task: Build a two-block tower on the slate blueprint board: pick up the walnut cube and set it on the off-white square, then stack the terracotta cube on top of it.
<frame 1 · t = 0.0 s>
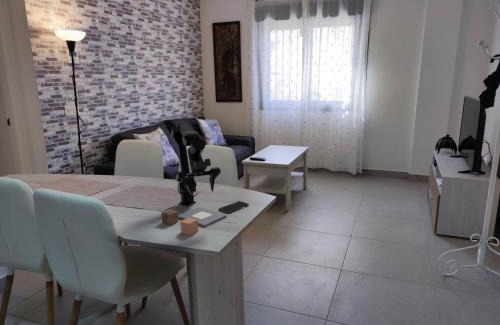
hand: (202, 193, 150), 15 cm above the table, tool tilted 35°, fingers open, 9 cm apart
terracotta cube: (189, 231, 148), on the table
blueprint board: (202, 217, 162), on the table
phone: (234, 209, 174), on the table
walnut cube: (170, 222, 158), on the table
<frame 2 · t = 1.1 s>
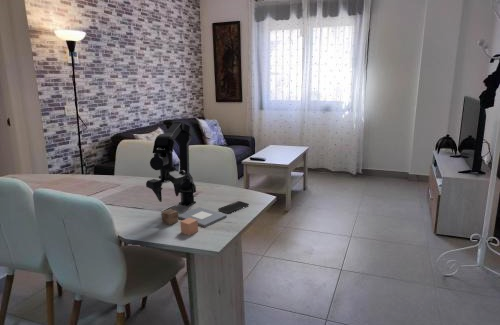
hand: (168, 198, 156), 11 cm above the table, tool pointing down, fingers open, 9 cm apart
nothing on the table moved.
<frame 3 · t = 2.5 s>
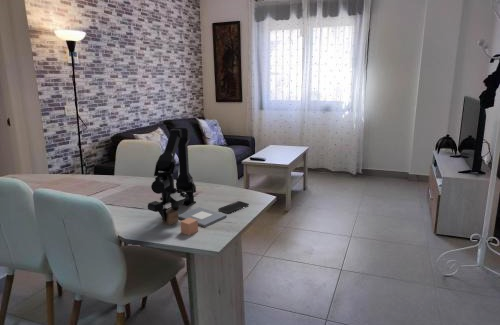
hand: (170, 219, 158), 1 cm above the table, tool pointing down, fingers closed on walnut cube, 5 cm apart
walnut cube: (170, 221, 158), on the table, touching gripper
everything else where it was.
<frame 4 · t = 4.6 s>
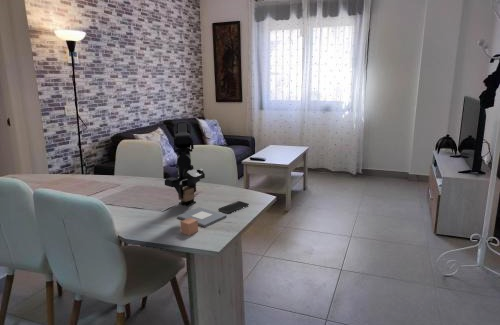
hand: (186, 196, 158), 11 cm above the table, tool pointing down, fingers closed on walnut cube, 5 cm apart
walnut cube: (186, 199, 158), point 10 cm above the table, touching gripper
everything else where it was.
when the fingers open (3 cm above the table, at t = 6.8 s): walnut cube drops 1 cm, resting on blueprint board.
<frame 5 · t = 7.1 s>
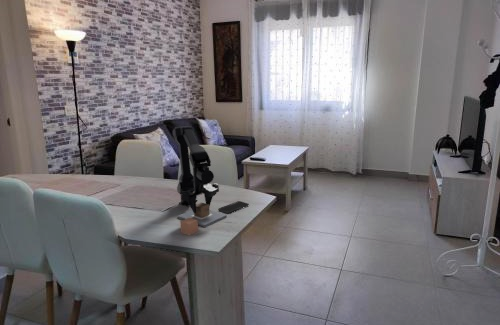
hand: (201, 210, 162), 3 cm above the table, tool pointing down, fingers open, 8 cm apart
walnut cube: (201, 215, 162), point 1 cm above the table, touching blueprint board
everything else where it was.
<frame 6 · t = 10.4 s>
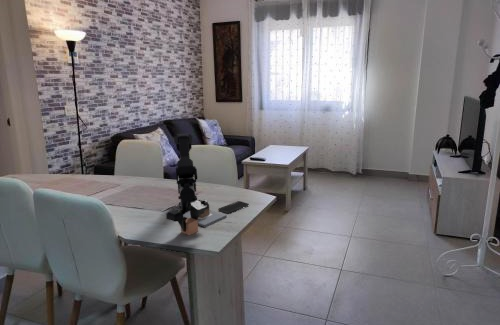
hand: (189, 229, 147), 1 cm above the table, tool pointing down, fingers closed on terracotta cube, 5 cm apart
terracotta cube: (189, 231, 148), on the table, touching gripper
everything else where it was.
when the fingers open (8 cm above the table, at t = 14.1 s): terracotta cube stays where it is, resting on walnut cube.
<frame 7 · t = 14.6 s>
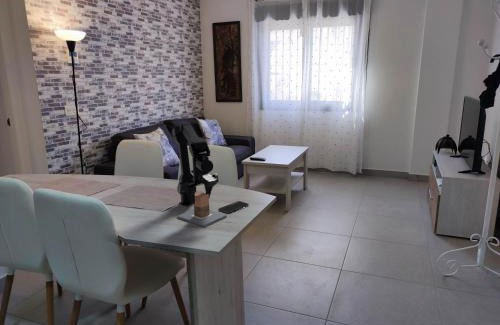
hand: (201, 201, 161), 8 cm above the table, tool pointing down, fingers open, 9 cm apart
terracotta cube: (201, 204, 161), point 6 cm above the table, touching walnut cube
walnut cube: (201, 215, 162), point 1 cm above the table, touching blueprint board, terracotta cube
everything else where it was.
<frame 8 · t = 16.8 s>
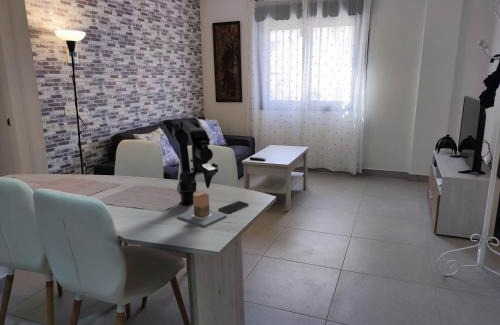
hand: (200, 190, 159), 13 cm above the table, tool pointing down, fingers open, 9 cm apart
nothing on the table moved.
at the end: walnut cube 0.0 cm off-centre on the blueprint board, point 1.1 cm above the blueprint board's base; terracotta cube 0.0 cm from the walnut cube (horizontally); terracotta cube point 6.1 cm above the table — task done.
